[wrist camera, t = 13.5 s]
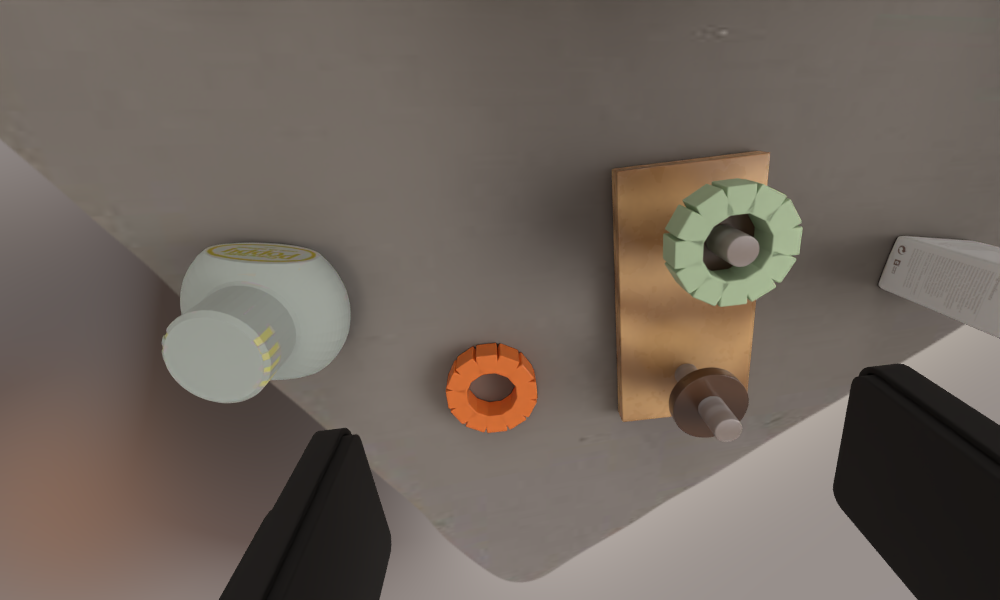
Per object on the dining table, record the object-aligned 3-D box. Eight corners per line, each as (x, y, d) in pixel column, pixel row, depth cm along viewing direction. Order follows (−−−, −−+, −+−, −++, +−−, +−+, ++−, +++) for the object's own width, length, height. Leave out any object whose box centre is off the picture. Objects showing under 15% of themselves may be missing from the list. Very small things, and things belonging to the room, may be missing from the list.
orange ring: (530, 338, 37) (532, 350, 35) (538, 412, 40) (540, 427, 38) (442, 348, 37) (439, 361, 35) (455, 421, 40) (454, 436, 38)
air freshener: (359, 247, 34) (311, 299, 25) (361, 348, 37) (318, 429, 28) (202, 233, 33) (92, 282, 24) (217, 338, 36) (125, 417, 27)
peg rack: (611, 168, 32) (651, 188, 24) (758, 150, 32) (848, 164, 24) (618, 411, 40) (650, 487, 32) (737, 397, 40) (799, 471, 32)
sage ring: (787, 171, 27) (809, 176, 25) (774, 286, 29) (793, 299, 27) (663, 187, 27) (676, 193, 25) (661, 300, 29) (673, 313, 28)
